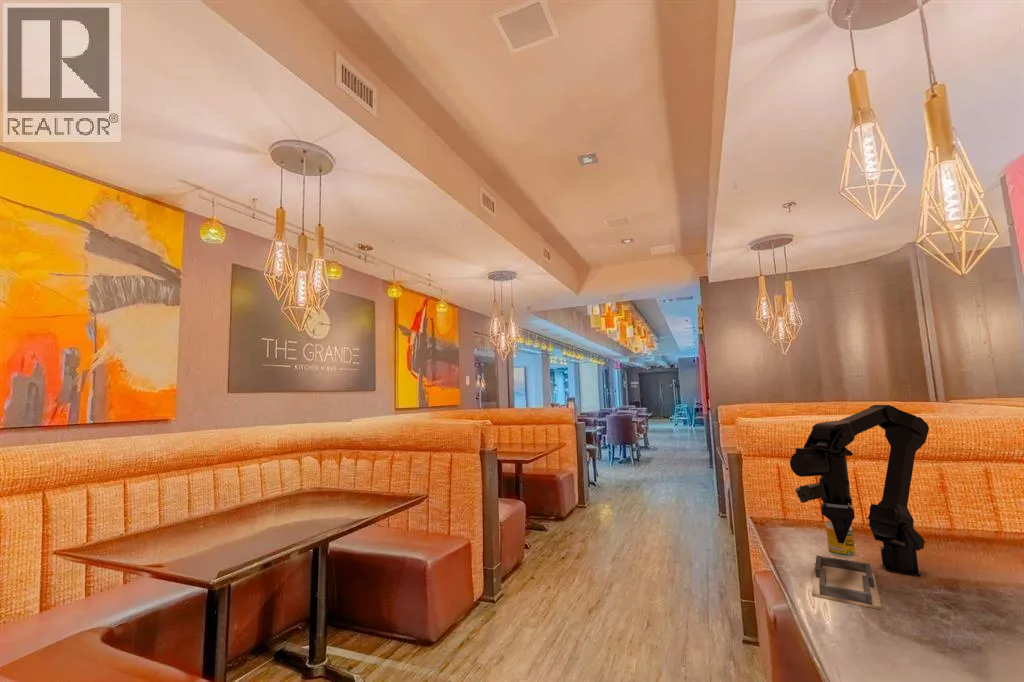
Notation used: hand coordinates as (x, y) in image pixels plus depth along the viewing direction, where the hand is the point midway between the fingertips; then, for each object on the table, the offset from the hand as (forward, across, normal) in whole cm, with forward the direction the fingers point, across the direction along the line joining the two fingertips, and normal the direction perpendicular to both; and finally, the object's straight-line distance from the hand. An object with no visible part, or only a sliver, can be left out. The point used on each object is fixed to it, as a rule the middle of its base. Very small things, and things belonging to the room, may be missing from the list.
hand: (840, 539), depth 111 cm
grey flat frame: (+9, +6, 0) cm, 10 cm away
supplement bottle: (+4, 0, 0) cm, 4 cm away
